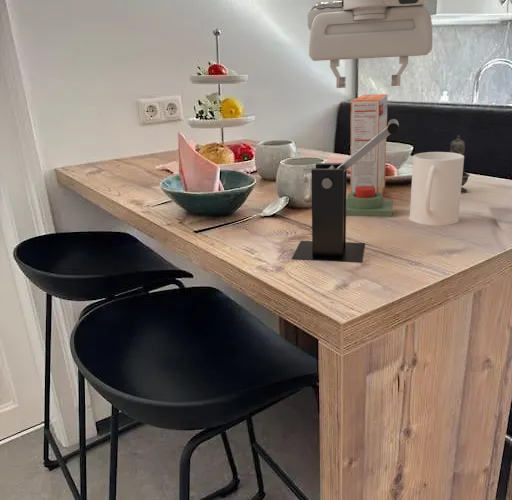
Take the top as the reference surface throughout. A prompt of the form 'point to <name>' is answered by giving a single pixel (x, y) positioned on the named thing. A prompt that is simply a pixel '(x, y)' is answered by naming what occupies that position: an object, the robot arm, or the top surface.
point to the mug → (436, 188)
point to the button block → (368, 206)
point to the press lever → (370, 145)
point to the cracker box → (362, 131)
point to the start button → (365, 192)
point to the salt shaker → (459, 148)
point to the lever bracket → (329, 219)
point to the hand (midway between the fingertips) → (367, 86)
